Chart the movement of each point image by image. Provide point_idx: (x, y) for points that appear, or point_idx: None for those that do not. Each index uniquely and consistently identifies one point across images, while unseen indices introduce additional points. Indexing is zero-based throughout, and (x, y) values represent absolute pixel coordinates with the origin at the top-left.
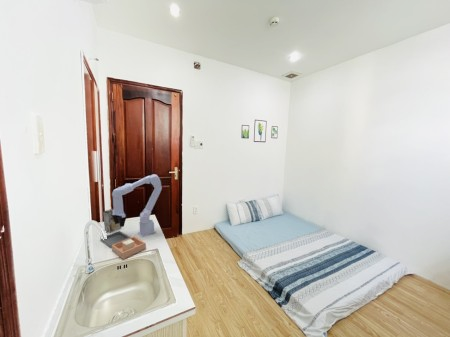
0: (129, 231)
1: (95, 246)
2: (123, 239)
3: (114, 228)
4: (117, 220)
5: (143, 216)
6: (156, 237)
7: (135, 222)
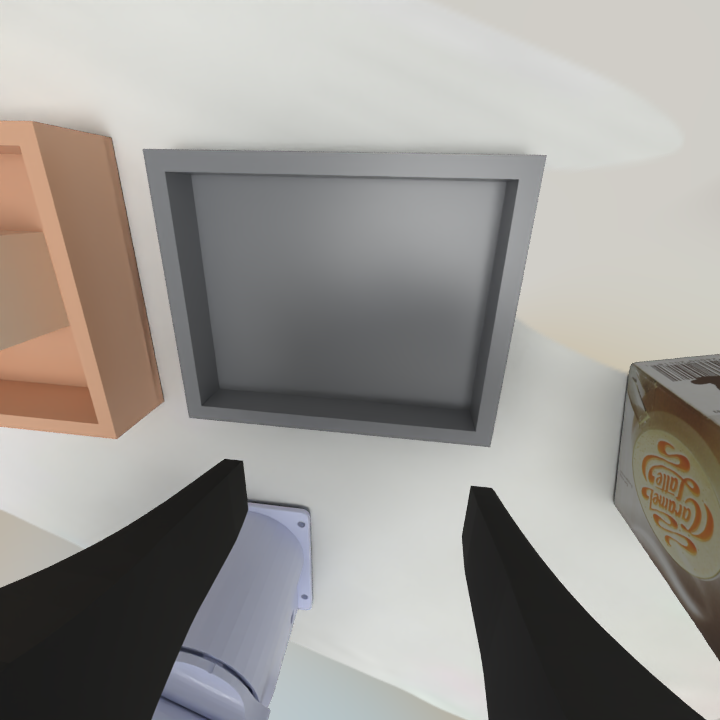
0: (447, 505)
1: (429, 24)
2: (286, 365)
3: (648, 452)
4: (480, 589)
5: None
6: None
7: None
